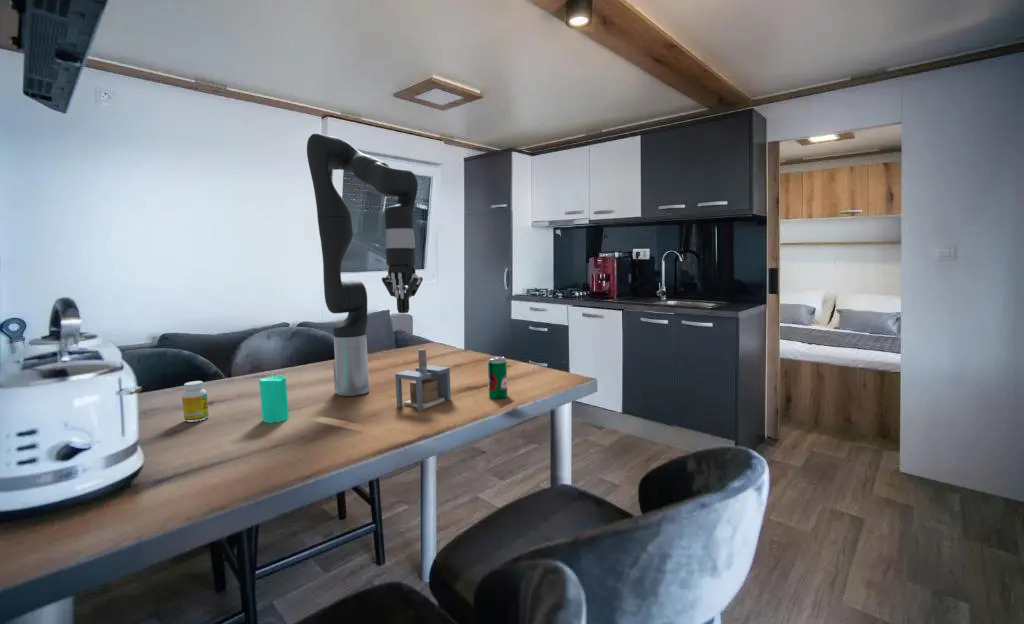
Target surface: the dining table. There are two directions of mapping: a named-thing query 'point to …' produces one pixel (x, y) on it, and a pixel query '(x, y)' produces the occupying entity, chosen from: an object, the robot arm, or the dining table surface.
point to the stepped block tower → (424, 386)
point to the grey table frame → (432, 373)
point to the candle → (274, 399)
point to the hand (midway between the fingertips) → (403, 312)
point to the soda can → (497, 378)
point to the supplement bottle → (195, 401)
